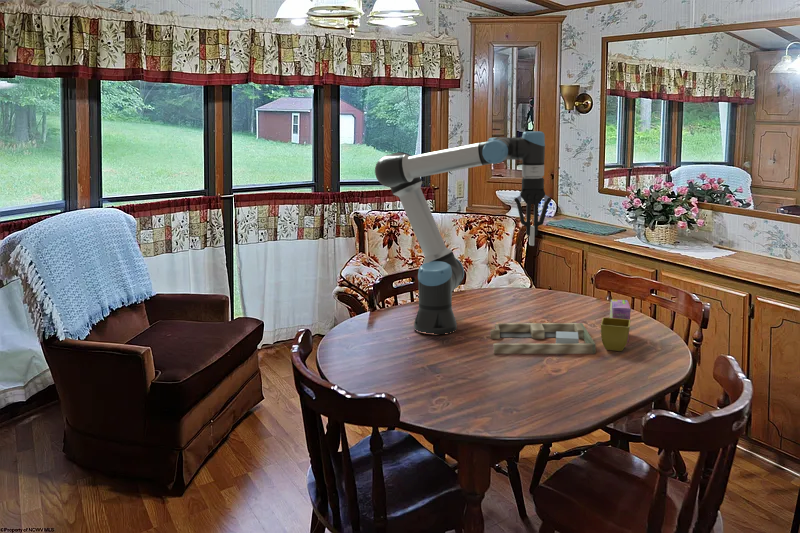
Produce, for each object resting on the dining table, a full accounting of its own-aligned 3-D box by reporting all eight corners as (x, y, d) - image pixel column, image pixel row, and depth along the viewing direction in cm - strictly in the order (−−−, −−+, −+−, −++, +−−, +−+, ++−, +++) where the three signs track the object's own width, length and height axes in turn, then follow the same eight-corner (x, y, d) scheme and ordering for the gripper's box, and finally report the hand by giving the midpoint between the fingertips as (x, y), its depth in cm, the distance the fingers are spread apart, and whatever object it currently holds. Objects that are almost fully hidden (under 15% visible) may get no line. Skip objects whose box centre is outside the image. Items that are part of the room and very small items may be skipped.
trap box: (493, 353, 236) (493, 344, 236) (489, 331, 259) (489, 323, 258) (595, 353, 235) (595, 344, 234) (582, 331, 257) (582, 323, 256)
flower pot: (629, 345, 241) (630, 319, 239) (628, 354, 233) (629, 326, 231) (601, 343, 244) (602, 317, 242) (599, 351, 236) (600, 324, 234)
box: (629, 342, 244) (630, 308, 242) (611, 341, 246) (612, 307, 243) (626, 333, 254) (627, 299, 252) (608, 332, 255) (610, 299, 253)
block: (556, 349, 240) (556, 337, 239) (555, 342, 246) (556, 331, 246) (578, 350, 238) (578, 338, 238) (577, 343, 245) (577, 332, 244)
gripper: (514, 178, 250) (513, 247, 255) (553, 178, 249) (552, 246, 254) (512, 176, 257) (511, 243, 262) (550, 175, 256) (548, 242, 262)
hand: (531, 244), depth 258 cm, fingers closed
